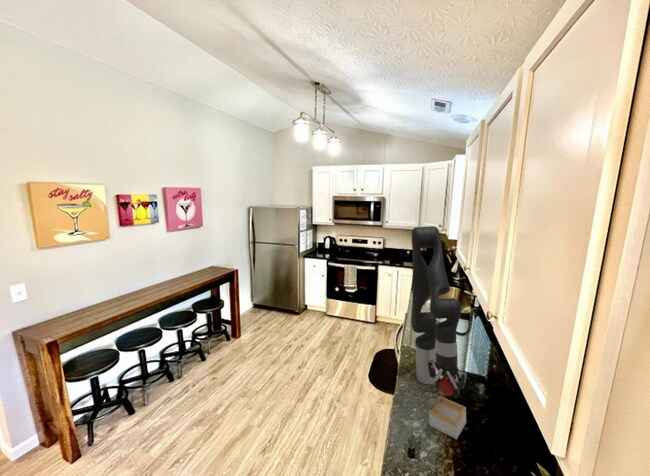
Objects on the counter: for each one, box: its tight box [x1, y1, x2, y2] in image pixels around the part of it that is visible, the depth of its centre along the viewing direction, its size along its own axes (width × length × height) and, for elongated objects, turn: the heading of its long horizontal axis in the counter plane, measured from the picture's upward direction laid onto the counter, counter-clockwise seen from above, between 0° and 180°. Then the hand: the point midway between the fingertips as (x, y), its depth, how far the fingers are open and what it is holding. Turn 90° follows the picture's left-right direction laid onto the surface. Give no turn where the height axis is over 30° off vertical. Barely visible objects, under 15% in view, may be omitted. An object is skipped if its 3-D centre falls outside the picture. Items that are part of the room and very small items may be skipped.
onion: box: [439, 376, 454, 397], centre depth 104 cm, size 6×6×8 cm
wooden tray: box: [428, 395, 467, 440], centre depth 106 cm, size 13×10×6 cm
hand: (447, 392), depth 104 cm, fingers closed on onion, 6 cm apart
